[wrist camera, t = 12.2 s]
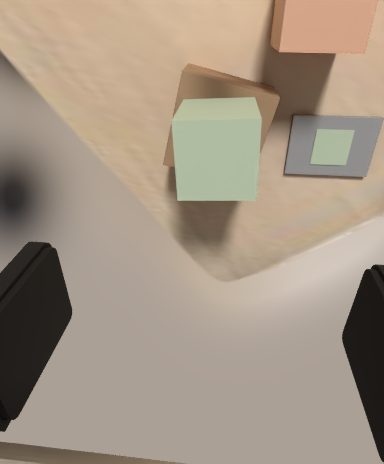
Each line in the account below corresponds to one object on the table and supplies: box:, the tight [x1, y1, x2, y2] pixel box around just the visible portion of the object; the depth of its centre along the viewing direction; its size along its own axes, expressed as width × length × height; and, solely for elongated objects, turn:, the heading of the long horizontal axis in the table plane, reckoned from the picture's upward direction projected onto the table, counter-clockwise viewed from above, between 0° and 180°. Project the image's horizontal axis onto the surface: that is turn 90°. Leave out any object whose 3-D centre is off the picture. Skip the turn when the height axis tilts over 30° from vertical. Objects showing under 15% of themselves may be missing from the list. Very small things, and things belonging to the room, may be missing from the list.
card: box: [284, 115, 384, 177], centre depth 29 cm, size 7×5×1 cm
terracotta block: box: [270, 0, 378, 54], centre depth 22 cm, size 5×5×6 cm
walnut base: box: [163, 64, 280, 168], centre depth 27 cm, size 7×7×4 cm
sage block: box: [171, 97, 262, 201], centre depth 23 cm, size 5×5×6 cm
